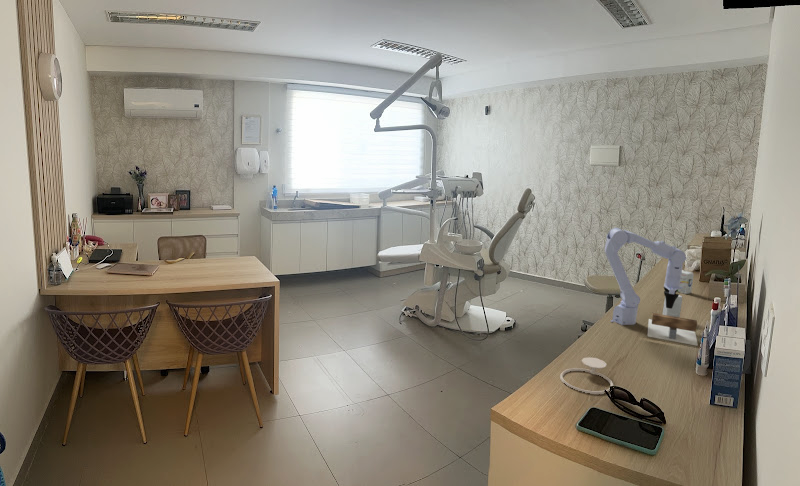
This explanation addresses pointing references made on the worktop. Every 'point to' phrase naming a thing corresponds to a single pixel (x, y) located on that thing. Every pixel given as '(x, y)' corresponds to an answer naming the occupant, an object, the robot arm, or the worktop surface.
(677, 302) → the skincare box
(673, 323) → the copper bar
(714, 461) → the worktop surface
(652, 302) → the worktop surface
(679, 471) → the worktop surface
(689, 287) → the ink box
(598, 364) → the hand towel holder
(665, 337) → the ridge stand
